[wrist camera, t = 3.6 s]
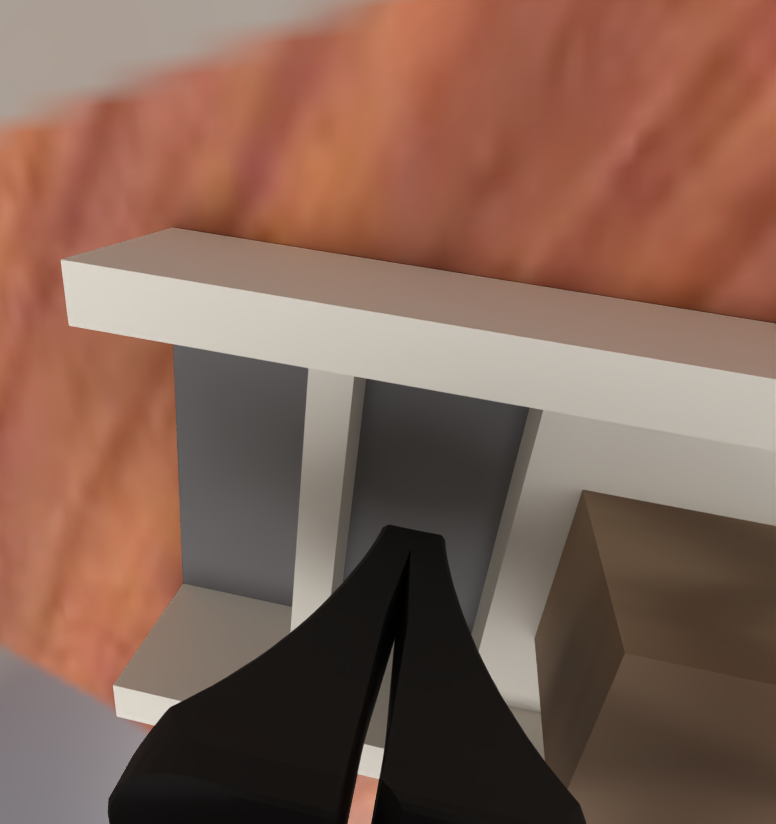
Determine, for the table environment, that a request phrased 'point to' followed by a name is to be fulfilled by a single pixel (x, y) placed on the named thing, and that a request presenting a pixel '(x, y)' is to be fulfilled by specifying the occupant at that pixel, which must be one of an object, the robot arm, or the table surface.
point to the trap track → (410, 437)
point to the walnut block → (661, 665)
